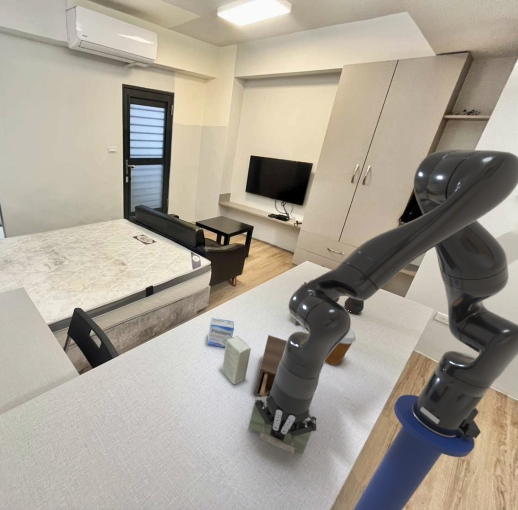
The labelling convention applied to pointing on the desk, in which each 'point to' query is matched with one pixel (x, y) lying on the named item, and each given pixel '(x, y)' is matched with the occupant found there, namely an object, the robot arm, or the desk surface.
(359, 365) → the desk surface
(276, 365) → the cabinet
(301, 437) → the drawer
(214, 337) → the medicine box
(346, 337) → the disposable coffee cup
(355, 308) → the mate gourd
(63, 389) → the desk surface
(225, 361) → the cosmetic box
